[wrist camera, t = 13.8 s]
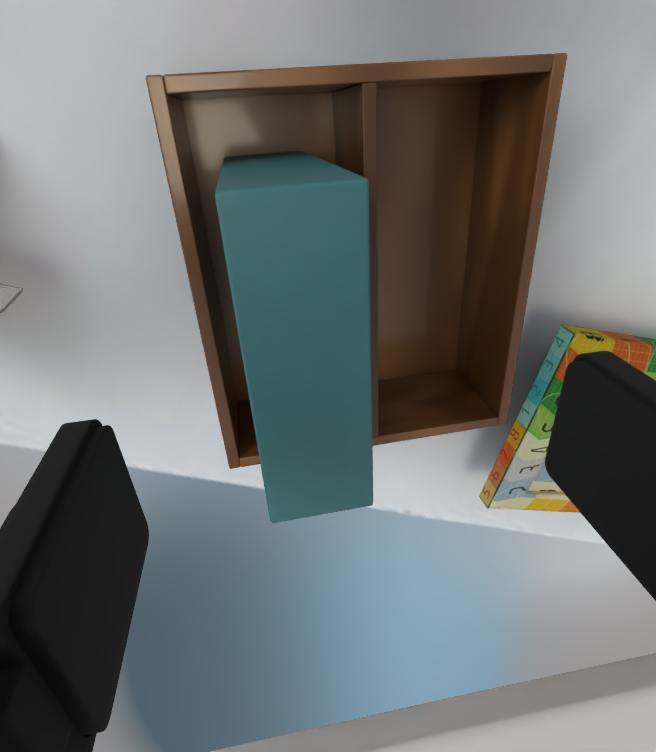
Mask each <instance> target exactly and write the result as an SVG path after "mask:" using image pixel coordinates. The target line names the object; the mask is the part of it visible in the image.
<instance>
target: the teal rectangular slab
mask: <svg viewBox="0 0 656 752" xmlns="http://www.w3.org/2000/svg"><path fill="white" fill-rule="evenodd" d="M215 199H216V205H217V211H218V217H219V223H220V229H221V234H222V240H223V246H224V252H225V258H226V264H227V270H228V276H229V281H230V287H231V293H232V299H233V305H234V311H235V317H236V323H237V328H238V334H239V340H240V346H241V352H242V358H243V364H244V369H245V375H246V381H247V387H248V393H249V399H250V405H251V411H252V416H253V422H254V428H255V434H256V440H257V446H258V452H259V458H260V463H261V469H262V475H263V481H264V487H265V493H266V499H267V505H268V510H269V516H270V521H271V522H272V523H276V522H282V521H287V520H293V519H299V518H304V517H310V516H315V515H321V514H326V513H332V512H338V511H343V510H349V509H354V508H360V507H365V506H371V505H372V504H373V459H372V387H371V316H370V244H369V182H368V179H367V178H365V177H362V176H360V175H358V174H355V173H353V172H351V171H348V170H346V169H344V168H341V167H339V166H337V165H334V164H332V163H329V162H327V161H325V160H322V159H320V158H318V157H315V156H313V155H311V154H308V153H306V152H304V151H292V152H279V153H266V154H253V155H240V156H227V157H224V160H223V164H222V168H221V172H220V176H219V180H218V184H217V188H216V192H215Z"/></svg>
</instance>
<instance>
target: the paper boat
mask: <svg viewBox="0 0 656 752" xmlns="http://www.w3.org/2000/svg"><path fill="white" fill-rule="evenodd" d="M22 292H23V288H18V287H13V286H8V285H3V284H0V315H1V314H2V313H3V312H4V311H5V309H6V308H7V307H8V306H9V305H10V304H11V303H12V302H13V301H14V300H15V299H16V298H17V297H18V296H19V295H20V294H21V293H22Z"/></svg>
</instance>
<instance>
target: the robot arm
mask: <svg viewBox="0 0 656 752" xmlns="http://www.w3.org/2000/svg"><path fill="white" fill-rule="evenodd" d="M545 467H546V470H547V473H548V474H549V476H550V477H551V478H552V480H553V481H554V482H555V483H556V484H557V485H558V487H559V488H560V489H561V490H562V491H563V493H564V494H565V495H566V496H567V497H568V498H569V500H570V501H571V502H572V503H573V504H574V505H575V507H576V508H577V509H578V510H579V511H580V512H581V514H582V515H583V516H584V517H585V518H586V520H587V521H588V522H589V523H590V524H591V525H592V527H593V528H594V529H595V530H596V531H597V532H598V534H599V535H600V536H601V537H602V538H603V540H604V541H605V542H606V543H607V544H608V545H609V547H610V548H611V549H612V550H613V551H614V552H615V553H616V555H617V556H618V557H619V558H620V559H621V561H622V562H623V563H624V564H625V565H626V566H627V568H628V569H629V570H630V571H631V572H632V574H633V575H634V576H635V577H636V578H637V579H638V580H639V582H640V583H641V584H642V585H643V587H644V588H645V589H646V590H647V591H648V592H649V594H650V595H651V596H652V597H653V598H654V599H655V600H656V380H654V379H652V378H651V377H649V376H648V375H646V374H645V373H643V372H642V371H640V370H638V369H637V368H635V367H634V366H632V365H631V364H629V363H628V362H626V361H624V360H623V359H621V358H620V357H618V356H617V355H615V354H614V353H612V352H610V351H598V352H590V353H583V354H579V355H577V356H576V357H575V358H574V359H573V362H571V363H569V365H568V366H567V368H566V372H565V376H564V381H563V385H562V389H561V393H560V398H559V402H558V406H557V410H556V415H555V419H554V423H553V427H552V431H551V436H550V440H549V444H548V448H547V453H546V457H545ZM148 540H149V531H148V525H147V522H146V519H145V516H144V514H143V511H142V508H141V505H140V502H139V500H138V497H137V494H136V491H135V489H134V486H133V483H132V481H131V478H130V475H129V472H128V470H127V467H126V464H125V461H124V459H123V456H122V453H121V450H120V448H119V445H118V442H117V439H116V437H115V434H114V431H113V429H112V428H111V426H109V425H106V426H102V424H101V423H100V421H99V420H96V419H94V420H87V421H79V422H72V423H66V424H63V425H62V426H61V427H60V429H59V431H58V432H57V434H56V436H55V437H54V439H53V441H52V443H51V444H50V446H49V448H48V450H47V451H46V453H45V455H44V457H43V458H42V460H41V462H40V463H39V465H38V467H37V469H36V470H35V472H34V474H33V476H32V477H31V479H30V481H29V483H28V484H27V486H26V488H25V489H24V491H23V493H22V495H21V497H20V498H19V500H18V502H17V503H16V505H15V506H14V507H13V508H12V510H11V511H10V513H9V515H8V516H7V518H6V520H5V521H4V523H3V525H2V526H1V528H0V752H92V751H93V746H94V742H95V737H96V733H98V732H102V731H104V730H105V729H106V728H107V725H108V723H109V720H110V716H111V711H112V707H113V702H114V698H115V693H116V688H117V684H118V679H119V675H120V669H121V665H122V661H123V656H124V651H125V647H126V642H127V638H128V633H129V629H130V624H131V619H132V615H133V610H134V606H135V601H136V596H137V592H138V587H139V583H140V578H141V574H142V569H143V564H144V560H145V555H146V551H147V546H148ZM211 752H656V653H655V654H651V655H646V656H641V657H637V658H632V659H627V660H622V661H617V662H613V663H608V664H603V665H599V666H594V667H590V668H585V669H580V670H576V671H571V672H567V673H562V674H558V675H553V676H548V677H544V678H539V679H535V680H530V681H525V682H521V683H517V684H512V685H507V686H502V687H498V688H493V689H489V690H485V691H480V692H475V693H471V694H466V695H461V696H457V697H452V698H448V699H443V700H439V701H434V702H429V703H425V704H421V705H416V706H411V707H407V708H402V709H398V710H394V711H389V712H384V713H380V714H376V715H371V716H367V717H362V718H358V719H353V720H349V721H345V722H340V723H335V724H331V725H326V726H322V727H318V728H313V729H308V730H304V731H299V732H295V733H291V734H287V735H282V736H277V737H273V738H268V739H264V740H259V741H255V742H250V743H246V744H241V745H237V746H233V747H228V748H224V749H219V750H215V751H211Z"/></svg>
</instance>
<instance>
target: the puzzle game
mask: <svg viewBox="0 0 656 752" xmlns="http://www.w3.org/2000/svg"><path fill="white" fill-rule="evenodd" d="M598 351H610V352H612V353H614V354H615V355H617V356H618V357H620V358H621V359H623V360H624V361H626V362H628V363H629V364H631V365H632V366H634V367H635V368H637V369H638V370H640V371H642V372H643V373H645V374H646V375H648V376H649V377H651V378H652V379H654V380H656V340H654V339H648V338H642V337H636V336H630V335H623V334H617V333H611V332H605V331H599V330H593V329H587V328H581V327H575V326H569V325H561V327H560V329H559V331H558V333H557V335H556V337H555V339H554V341H553V343H552V345H551V347H550V350H549V352H548V354H547V356H546V358H545V360H544V362H543V364H542V366H541V368H540V370H539V373H538V375H537V377H536V379H535V381H534V383H533V385H532V387H531V389H530V391H529V393H528V396H527V398H526V400H525V402H524V404H523V406H522V408H521V410H520V412H519V414H518V416H517V419H516V421H515V423H514V425H513V427H512V429H511V431H510V433H509V435H508V437H507V439H506V442H505V444H504V446H503V448H502V450H501V452H500V454H499V456H498V458H497V460H496V462H495V464H494V467H493V469H492V471H491V473H490V475H489V477H488V479H487V481H486V483H485V485H484V487H483V490H482V492H481V494H480V496H479V497H480V498H481V500H482V501H483V503H484V504H485V506H486V507H487V508H498V509H519V510H539V511H559V512H580V511H579V510H578V509H577V508H576V507H575V505H574V504H573V503H572V502H571V501H570V500H569V498H568V497H567V496H566V495H565V494H564V493H563V491H562V490H561V489H560V488H559V487H558V485H557V484H556V483H555V482H554V481H553V480H552V478H551V477H550V476H549V474H548V473H547V470H546V467H545V457H546V453H547V448H548V444H549V440H550V436H551V431H552V427H553V423H554V419H555V415H556V410H557V406H558V402H559V398H560V393H561V389H562V385H563V381H564V376H565V372H566V368H567V366H568V365H569V363H571V362H573V359H574V358H575V357H576V356H577V355H579V354H583V353H590V352H598ZM580 513H581V512H580Z"/></svg>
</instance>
